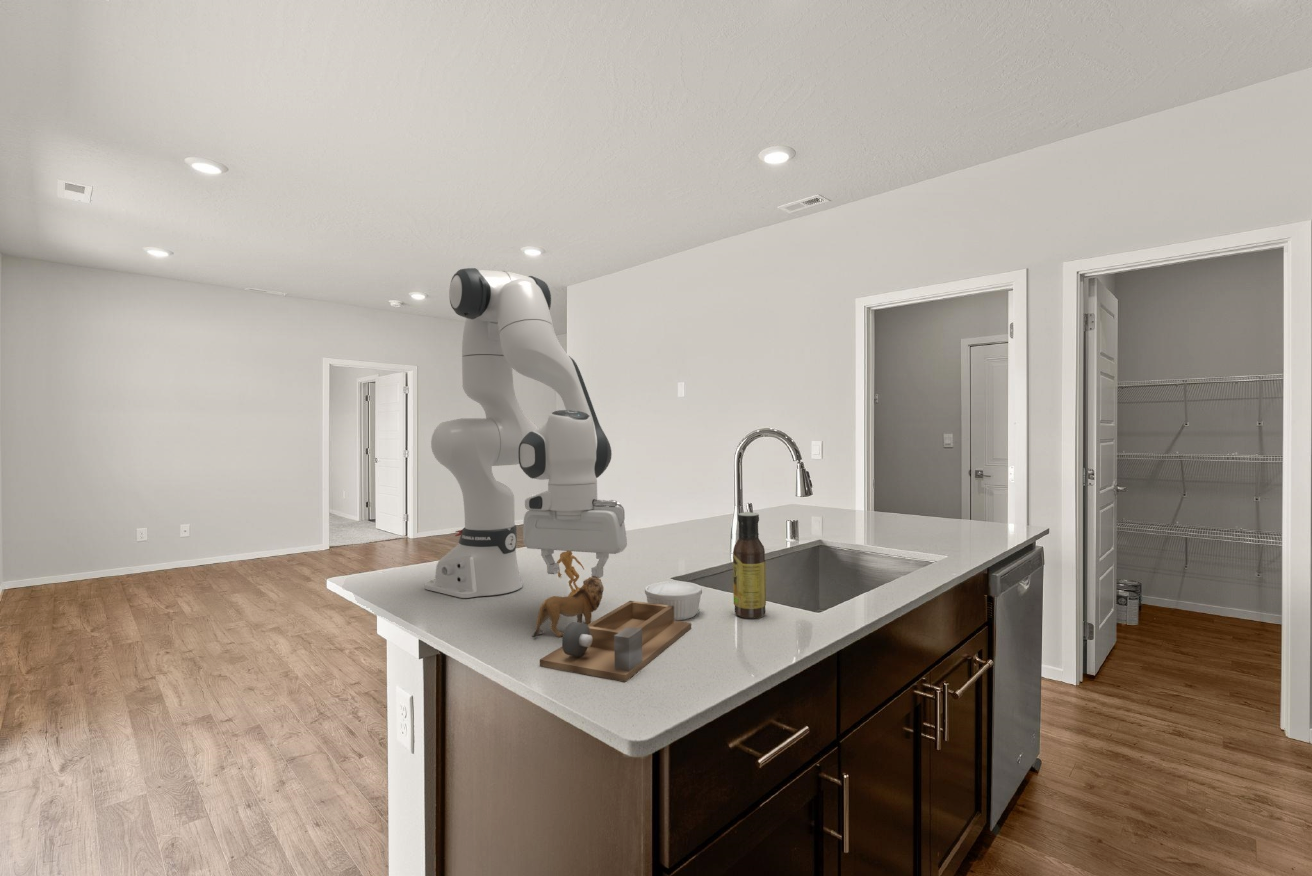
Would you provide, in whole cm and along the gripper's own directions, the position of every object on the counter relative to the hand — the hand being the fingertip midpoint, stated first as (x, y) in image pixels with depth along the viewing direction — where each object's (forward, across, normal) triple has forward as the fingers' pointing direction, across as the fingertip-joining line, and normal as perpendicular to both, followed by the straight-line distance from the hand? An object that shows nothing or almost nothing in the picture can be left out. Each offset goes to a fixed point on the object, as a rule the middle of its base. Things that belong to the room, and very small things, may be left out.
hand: (574, 575), depth 113 cm
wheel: (+9, -9, +13) cm, 18 cm away
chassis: (+10, -11, +4) cm, 16 cm away
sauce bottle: (+11, -26, -21) cm, 35 cm away
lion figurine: (+10, +1, 0) cm, 10 cm away
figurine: (+10, +8, -11) cm, 17 cm away
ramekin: (+10, -12, -16) cm, 23 cm away
